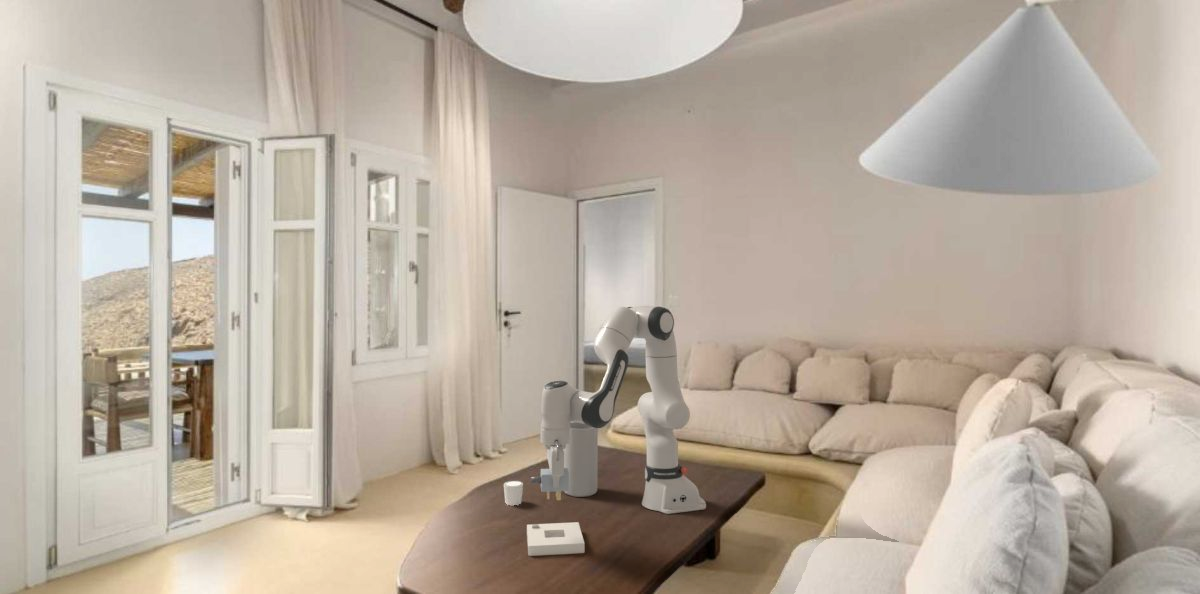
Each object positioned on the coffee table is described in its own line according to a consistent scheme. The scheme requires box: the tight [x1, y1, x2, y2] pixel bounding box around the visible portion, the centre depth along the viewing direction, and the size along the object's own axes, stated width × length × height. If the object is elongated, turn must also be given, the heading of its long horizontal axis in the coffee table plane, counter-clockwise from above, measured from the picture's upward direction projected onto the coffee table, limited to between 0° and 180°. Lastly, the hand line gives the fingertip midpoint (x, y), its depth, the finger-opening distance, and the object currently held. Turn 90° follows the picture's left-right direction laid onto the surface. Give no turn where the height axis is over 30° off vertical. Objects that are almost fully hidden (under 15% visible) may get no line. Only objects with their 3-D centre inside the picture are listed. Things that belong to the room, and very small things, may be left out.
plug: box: [530, 468, 569, 501], centre depth 180 cm, size 11×6×8 cm, turn 98°
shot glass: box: [503, 480, 524, 507], centre depth 214 cm, size 7×7×7 cm
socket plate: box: [526, 521, 586, 557], centre depth 180 cm, size 16×16×4 cm
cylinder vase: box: [563, 421, 599, 498], centre depth 227 cm, size 12×12×25 cm
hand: (554, 482), depth 180 cm, fingers closed on plug, 6 cm apart
